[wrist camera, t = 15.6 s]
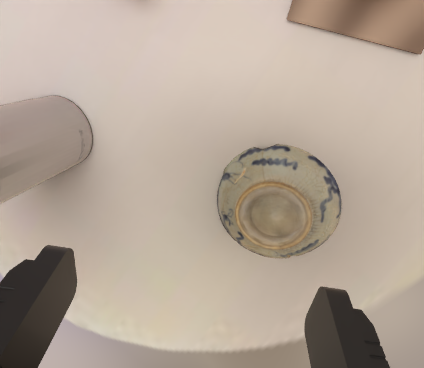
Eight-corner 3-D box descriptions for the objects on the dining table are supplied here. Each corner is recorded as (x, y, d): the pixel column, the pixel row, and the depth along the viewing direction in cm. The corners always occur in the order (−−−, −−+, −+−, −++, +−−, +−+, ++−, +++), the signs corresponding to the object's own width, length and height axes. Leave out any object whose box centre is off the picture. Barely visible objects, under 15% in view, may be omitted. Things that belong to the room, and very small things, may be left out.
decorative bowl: (283, 114, 35) (191, 193, 42) (281, 121, 32) (181, 205, 39) (370, 214, 37) (268, 274, 44) (377, 231, 34) (265, 293, 40)
